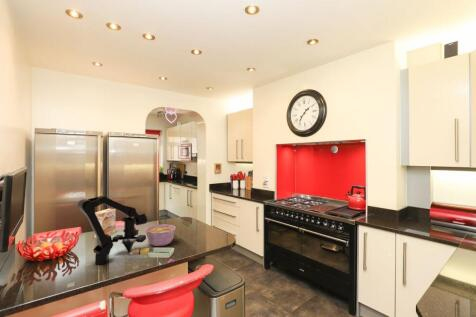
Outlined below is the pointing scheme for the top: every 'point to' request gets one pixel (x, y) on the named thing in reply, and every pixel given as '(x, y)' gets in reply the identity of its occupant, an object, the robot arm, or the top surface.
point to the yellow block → (144, 251)
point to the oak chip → (136, 251)
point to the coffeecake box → (107, 220)
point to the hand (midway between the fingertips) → (129, 252)
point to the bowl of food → (160, 234)
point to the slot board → (138, 254)
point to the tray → (162, 255)
